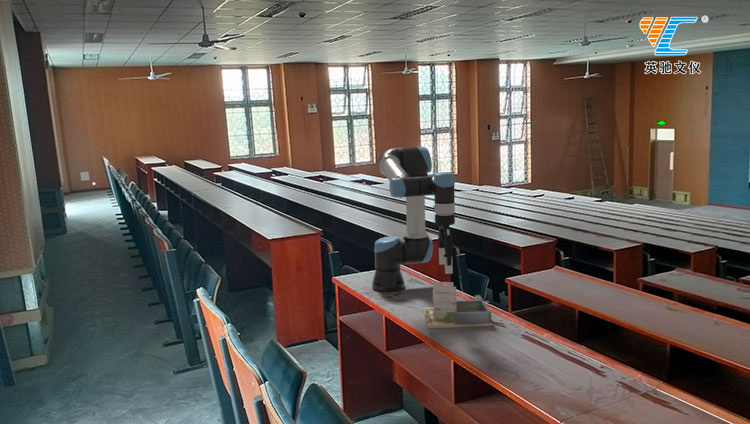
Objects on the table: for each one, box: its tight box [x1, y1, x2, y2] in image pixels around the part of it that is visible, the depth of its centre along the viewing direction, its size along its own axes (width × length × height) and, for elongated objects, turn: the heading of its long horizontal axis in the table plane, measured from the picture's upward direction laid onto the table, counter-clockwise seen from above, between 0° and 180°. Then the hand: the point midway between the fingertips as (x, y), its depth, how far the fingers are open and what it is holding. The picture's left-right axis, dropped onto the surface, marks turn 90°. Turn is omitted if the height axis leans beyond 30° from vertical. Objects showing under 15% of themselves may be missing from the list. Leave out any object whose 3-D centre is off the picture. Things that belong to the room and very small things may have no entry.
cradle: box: [422, 306, 493, 329], centre depth 229 cm, size 21×24×4 cm
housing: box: [455, 294, 492, 324], centre depth 229 cm, size 21×14×4 cm, turn 1°
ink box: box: [432, 281, 457, 319], centre depth 226 cm, size 9×5×15 cm, turn 72°
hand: (445, 268), depth 223 cm, fingers open, 13 cm apart
